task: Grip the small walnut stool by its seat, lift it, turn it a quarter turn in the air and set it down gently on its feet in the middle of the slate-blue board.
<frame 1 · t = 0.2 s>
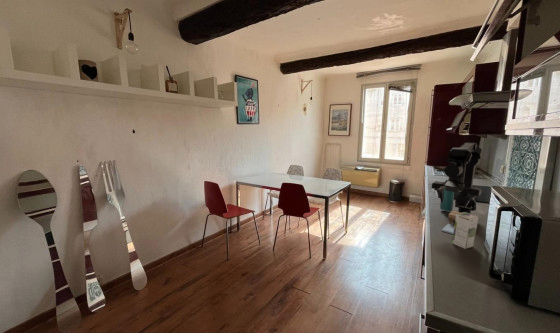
hand: (453, 205, 114), 14 cm above the countertop, tool pointing down, fingers open, 9 cm apart
beverage bottle: (445, 211, 144), on the countertop
syrup box: (462, 245, 103), on the countertop
board: (455, 230, 117), on the countertop
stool: (455, 224, 126), on the countertop
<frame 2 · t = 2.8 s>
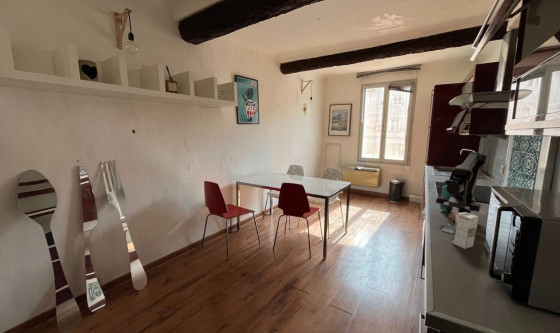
hand: (455, 218, 125), 3 cm above the countertop, tool pointing down, fingers closed on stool, 5 cm apart
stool: (455, 224, 126), on the countertop, touching gripper
everything else where it was.
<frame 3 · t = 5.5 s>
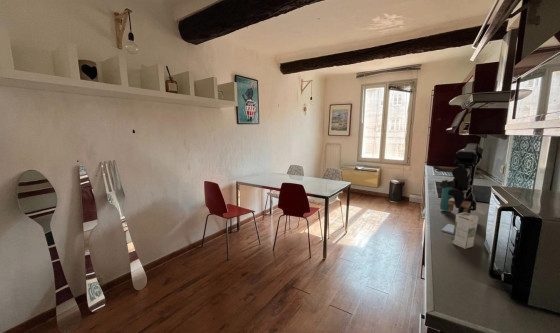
hand: (458, 206, 115), 13 cm above the countertop, tool pointing down, fingers closed on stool, 5 cm apart
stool: (457, 212, 116), point 10 cm above the countertop, touching gripper
everything else where it was.
when the fingers open (5 cm above the countertop, at t = 8.1 s): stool stays where it is, resting on board.
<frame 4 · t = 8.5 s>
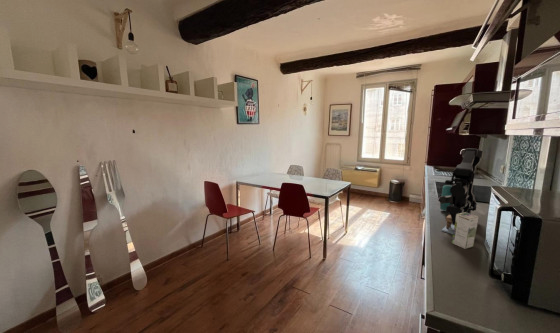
hand: (456, 222, 117), 5 cm above the countertop, tool pointing down, fingers open, 9 cm apart
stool: (455, 229, 117), point 1 cm above the countertop, touching board
everything else where it was.
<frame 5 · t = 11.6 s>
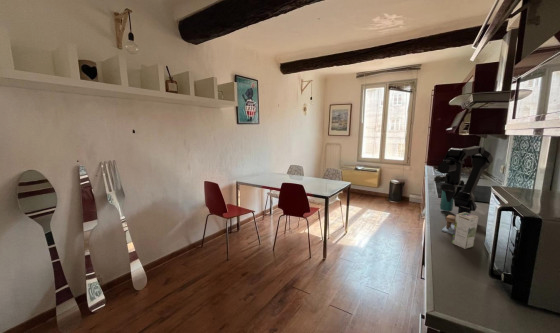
hand: (450, 200, 125), 13 cm above the countertop, tool pointing down, fingers open, 9 cm apart
nothing on the countertop moved.
at the end: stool inside the target area on the board (0.1 cm from its centre), point 0.8 cm above the board's base; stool tilted 0°; the gripper is holding nothing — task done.
